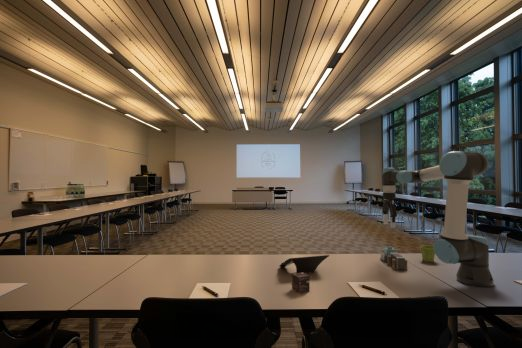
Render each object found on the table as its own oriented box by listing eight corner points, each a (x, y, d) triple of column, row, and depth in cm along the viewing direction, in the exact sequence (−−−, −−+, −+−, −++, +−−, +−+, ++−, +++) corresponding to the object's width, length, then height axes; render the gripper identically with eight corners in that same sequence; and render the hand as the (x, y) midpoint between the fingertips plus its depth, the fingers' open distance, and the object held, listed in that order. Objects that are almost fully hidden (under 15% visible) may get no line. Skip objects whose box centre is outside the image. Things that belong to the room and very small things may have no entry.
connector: (392, 258, 190) (392, 246, 191) (395, 260, 185) (394, 247, 186) (384, 258, 191) (384, 245, 191) (386, 260, 186) (386, 247, 186)
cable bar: (397, 263, 181) (397, 252, 181) (405, 268, 169) (404, 258, 169) (390, 262, 181) (390, 252, 181) (397, 268, 169) (397, 257, 169)
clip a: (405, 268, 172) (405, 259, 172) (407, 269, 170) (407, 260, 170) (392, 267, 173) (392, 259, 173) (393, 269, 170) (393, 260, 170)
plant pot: (439, 261, 186) (439, 247, 187) (432, 263, 181) (432, 249, 181) (424, 258, 194) (424, 244, 194) (416, 260, 189) (416, 246, 189)
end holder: (394, 258, 192) (393, 252, 192) (398, 262, 184) (398, 255, 184) (380, 258, 193) (380, 252, 193) (384, 262, 185) (384, 255, 185)
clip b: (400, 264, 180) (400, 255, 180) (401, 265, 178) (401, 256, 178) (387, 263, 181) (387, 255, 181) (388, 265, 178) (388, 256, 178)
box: (298, 293, 134) (298, 277, 134) (291, 289, 140) (291, 273, 140) (309, 291, 136) (309, 275, 137) (302, 287, 142) (302, 272, 142)
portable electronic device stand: (314, 276, 177) (311, 260, 181) (332, 268, 158) (328, 251, 162) (278, 279, 171) (275, 263, 175) (292, 272, 151) (288, 254, 155)
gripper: (377, 191, 202) (377, 223, 201) (389, 193, 177) (389, 229, 176) (388, 191, 201) (388, 223, 201) (402, 193, 176) (403, 229, 176)
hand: (389, 226), depth 189 cm, fingers open, 13 cm apart
